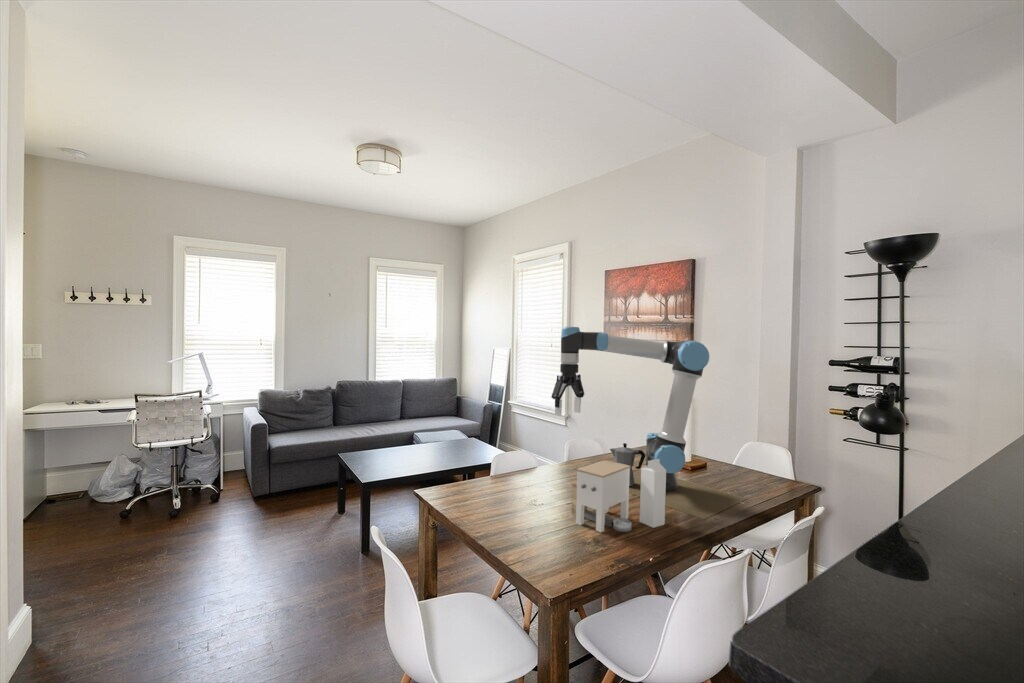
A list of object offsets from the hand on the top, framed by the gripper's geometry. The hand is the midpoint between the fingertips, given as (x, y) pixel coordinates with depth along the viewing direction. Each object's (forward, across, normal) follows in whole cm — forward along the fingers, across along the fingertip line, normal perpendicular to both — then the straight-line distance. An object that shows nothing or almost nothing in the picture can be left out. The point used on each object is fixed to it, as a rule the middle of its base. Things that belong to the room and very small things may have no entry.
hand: (567, 413), depth 191 cm
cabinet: (+32, +18, +29) cm, 47 cm away
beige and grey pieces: (+32, +19, +26) cm, 45 cm away
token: (+32, +19, +37) cm, 52 cm away
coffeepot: (+32, -26, +14) cm, 43 cm away
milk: (+32, +7, +42) cm, 53 cm away
